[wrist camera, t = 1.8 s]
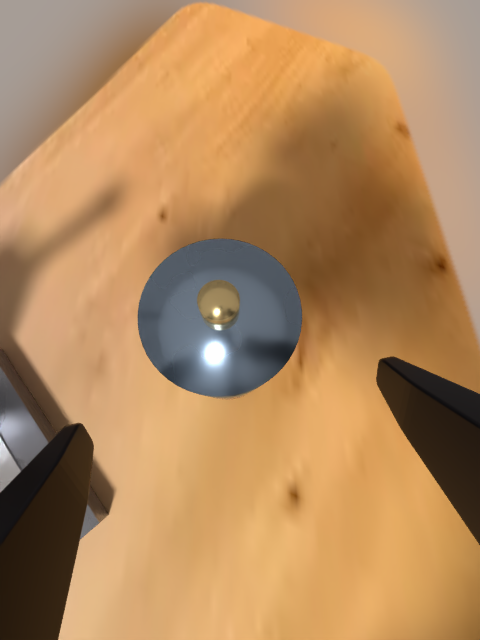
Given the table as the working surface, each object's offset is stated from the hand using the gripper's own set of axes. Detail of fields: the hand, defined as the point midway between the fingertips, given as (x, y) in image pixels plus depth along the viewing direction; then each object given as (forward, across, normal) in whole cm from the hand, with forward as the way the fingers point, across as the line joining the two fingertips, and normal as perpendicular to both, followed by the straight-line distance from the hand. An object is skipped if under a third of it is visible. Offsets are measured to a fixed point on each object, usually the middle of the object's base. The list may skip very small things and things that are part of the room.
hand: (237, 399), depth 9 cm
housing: (+9, 0, +5) cm, 10 cm away
